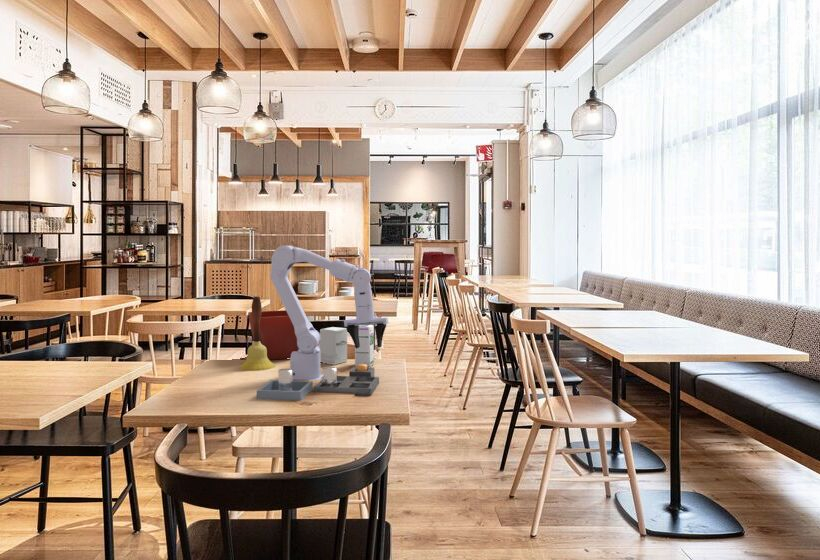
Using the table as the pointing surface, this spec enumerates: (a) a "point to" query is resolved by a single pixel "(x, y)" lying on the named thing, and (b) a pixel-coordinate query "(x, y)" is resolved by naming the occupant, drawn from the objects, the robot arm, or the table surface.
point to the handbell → (257, 344)
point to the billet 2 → (330, 377)
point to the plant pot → (276, 334)
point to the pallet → (351, 385)
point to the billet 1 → (285, 380)
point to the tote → (273, 393)
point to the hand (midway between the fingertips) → (368, 347)
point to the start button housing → (362, 372)
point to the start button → (361, 367)
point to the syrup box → (365, 346)
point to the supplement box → (333, 345)
